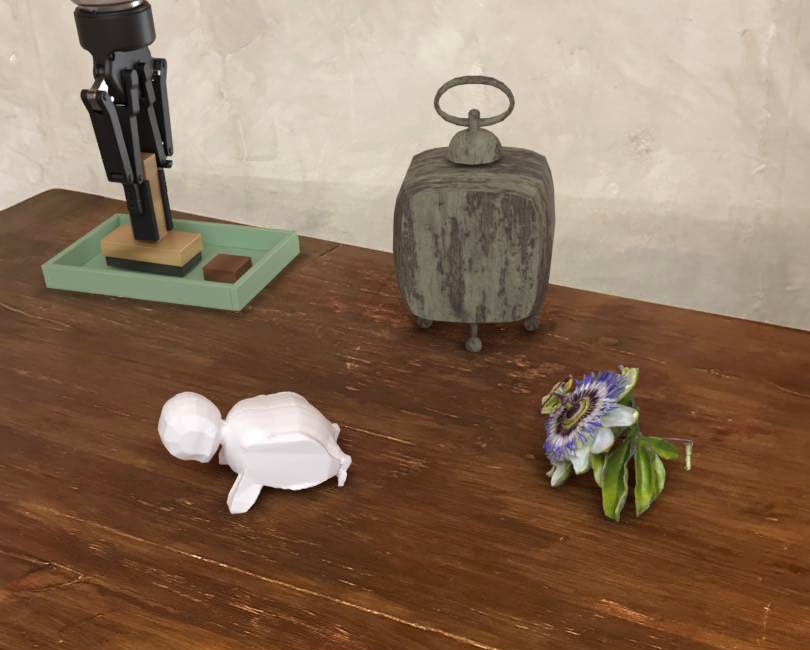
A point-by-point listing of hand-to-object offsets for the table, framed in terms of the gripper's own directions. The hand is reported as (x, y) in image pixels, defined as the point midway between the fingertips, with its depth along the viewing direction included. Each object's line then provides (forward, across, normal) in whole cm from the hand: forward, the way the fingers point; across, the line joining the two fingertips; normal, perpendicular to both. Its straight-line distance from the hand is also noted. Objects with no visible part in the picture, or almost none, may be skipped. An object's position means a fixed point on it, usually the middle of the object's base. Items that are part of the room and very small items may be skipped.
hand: (154, 233), depth 124 cm
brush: (+4, 0, +1) cm, 4 cm away
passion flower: (+5, -27, -56) cm, 62 cm away
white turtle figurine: (+5, -35, -29) cm, 46 cm away
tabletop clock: (+5, -7, -39) cm, 40 cm away
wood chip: (+4, 0, -8) cm, 9 cm away
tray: (+5, 0, -2) cm, 5 cm away
